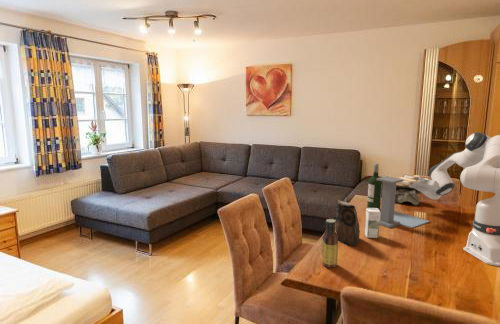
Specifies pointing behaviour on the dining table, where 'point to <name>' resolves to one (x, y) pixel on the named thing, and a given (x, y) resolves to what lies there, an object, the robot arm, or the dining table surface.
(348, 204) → the black speaker
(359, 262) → the dining table surface
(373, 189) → the wine bottle
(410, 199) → the hollow geode rock
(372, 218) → the syrup box
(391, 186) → the pedestal
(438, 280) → the dining table surface
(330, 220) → the sauce bottle
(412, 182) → the board
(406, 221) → the mat
